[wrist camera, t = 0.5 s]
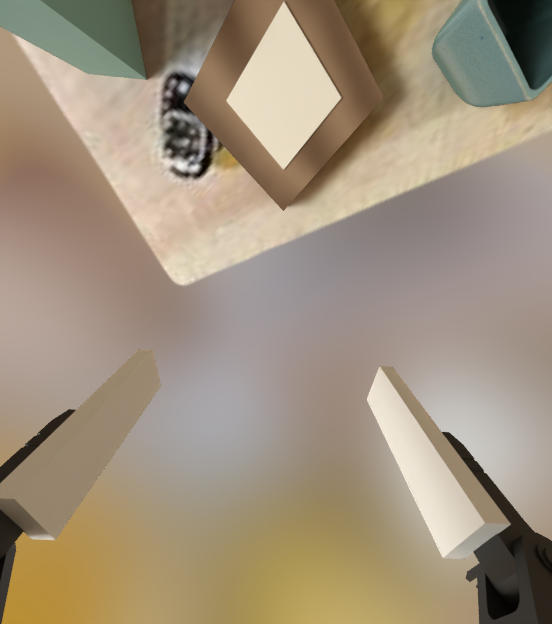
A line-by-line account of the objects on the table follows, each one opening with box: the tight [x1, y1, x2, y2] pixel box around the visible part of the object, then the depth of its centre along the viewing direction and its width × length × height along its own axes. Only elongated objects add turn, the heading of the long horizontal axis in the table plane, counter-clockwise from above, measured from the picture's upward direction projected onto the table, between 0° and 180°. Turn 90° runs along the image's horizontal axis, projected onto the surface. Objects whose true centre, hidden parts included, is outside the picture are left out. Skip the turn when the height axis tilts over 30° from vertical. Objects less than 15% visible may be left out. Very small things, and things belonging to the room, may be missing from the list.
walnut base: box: [184, 0, 384, 211], centre depth 21 cm, size 14×14×3 cm
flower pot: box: [432, 0, 552, 107], centre depth 16 cm, size 9×9×9 cm
